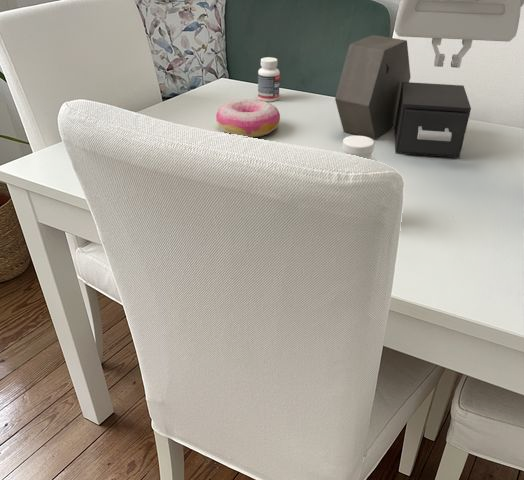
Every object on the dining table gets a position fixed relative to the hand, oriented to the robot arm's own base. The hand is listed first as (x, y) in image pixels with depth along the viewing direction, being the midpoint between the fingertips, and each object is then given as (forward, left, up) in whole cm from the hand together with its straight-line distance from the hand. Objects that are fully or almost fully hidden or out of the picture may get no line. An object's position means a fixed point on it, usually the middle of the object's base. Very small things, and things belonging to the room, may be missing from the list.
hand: (446, 66), depth 101 cm
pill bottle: (+37, -31, -17) cm, 52 cm away
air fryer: (0, -9, -17) cm, 20 cm away
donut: (+38, -9, -17) cm, 43 cm away
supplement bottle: (+14, +27, -17) cm, 35 cm away
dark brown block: (+12, -14, -17) cm, 26 cm away
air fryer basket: (0, -5, -16) cm, 17 cm away
